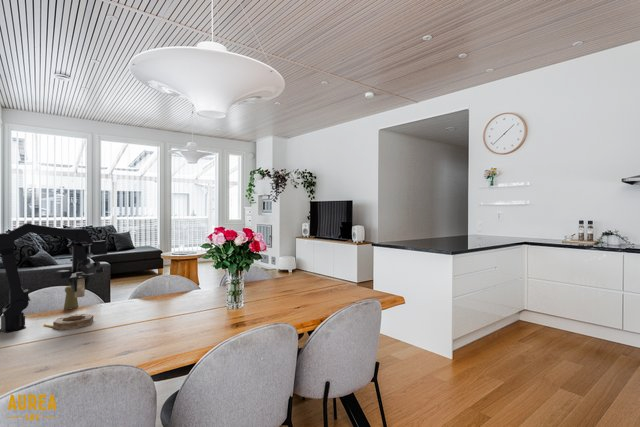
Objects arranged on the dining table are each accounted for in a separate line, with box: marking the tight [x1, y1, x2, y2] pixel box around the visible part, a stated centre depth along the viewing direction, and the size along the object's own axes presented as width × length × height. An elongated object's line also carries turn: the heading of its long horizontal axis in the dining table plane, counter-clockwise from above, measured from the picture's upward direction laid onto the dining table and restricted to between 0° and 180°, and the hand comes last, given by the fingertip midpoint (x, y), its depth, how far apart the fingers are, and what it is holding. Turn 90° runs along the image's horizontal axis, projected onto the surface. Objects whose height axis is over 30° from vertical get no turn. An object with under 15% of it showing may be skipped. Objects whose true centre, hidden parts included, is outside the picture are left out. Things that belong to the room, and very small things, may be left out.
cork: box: [63, 285, 79, 310], centre depth 171 cm, size 6×6×11 cm
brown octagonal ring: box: [52, 313, 94, 331], centre depth 146 cm, size 13×13×2 cm
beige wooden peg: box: [75, 276, 86, 298], centre depth 154 cm, size 4×4×9 cm
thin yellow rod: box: [43, 323, 53, 328], centre depth 143 cm, size 1×7×1 cm, turn 67°
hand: (79, 290), depth 154 cm, fingers closed on beige wooden peg, 4 cm apart
